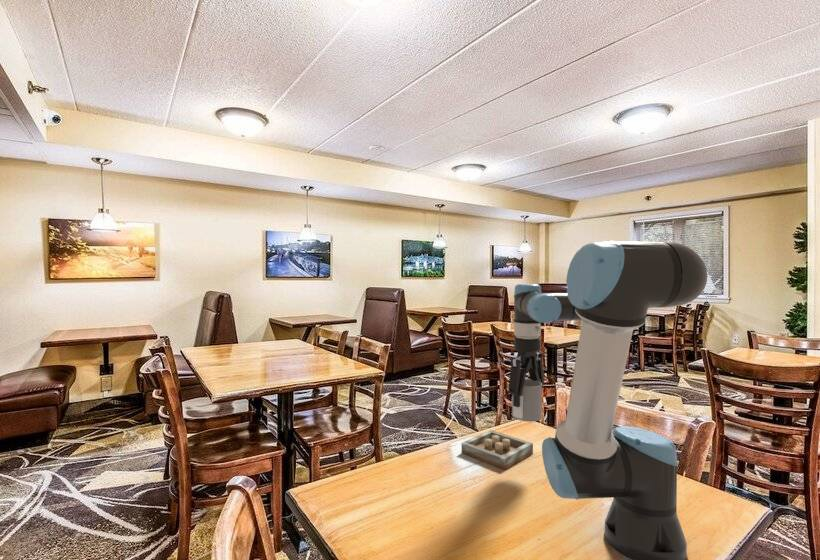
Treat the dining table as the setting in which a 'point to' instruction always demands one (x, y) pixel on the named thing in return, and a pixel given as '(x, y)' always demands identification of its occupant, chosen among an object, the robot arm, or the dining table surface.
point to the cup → (531, 401)
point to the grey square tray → (497, 449)
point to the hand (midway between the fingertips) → (526, 413)
